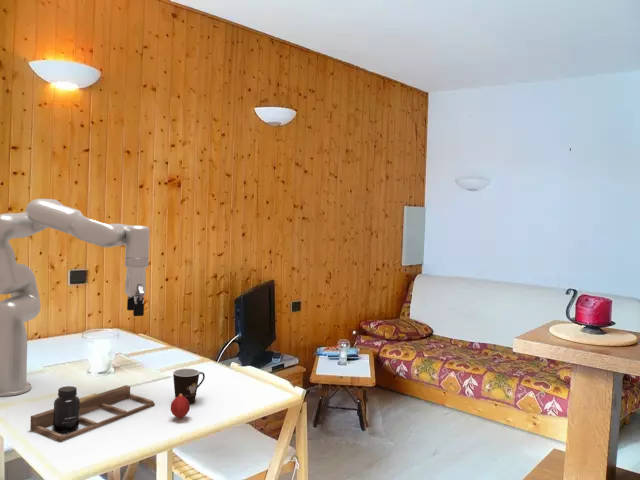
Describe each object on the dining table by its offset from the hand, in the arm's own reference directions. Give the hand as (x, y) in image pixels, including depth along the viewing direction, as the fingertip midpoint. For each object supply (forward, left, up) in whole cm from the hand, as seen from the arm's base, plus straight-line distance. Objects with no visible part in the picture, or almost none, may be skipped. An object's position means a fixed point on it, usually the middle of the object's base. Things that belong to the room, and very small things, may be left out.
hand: (135, 312), depth 184 cm
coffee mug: (+18, +9, -29) cm, 35 cm away
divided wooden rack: (+6, -18, -29) cm, 35 cm away
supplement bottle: (+6, -29, -29) cm, 42 cm away
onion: (+26, -4, -29) cm, 39 cm away
